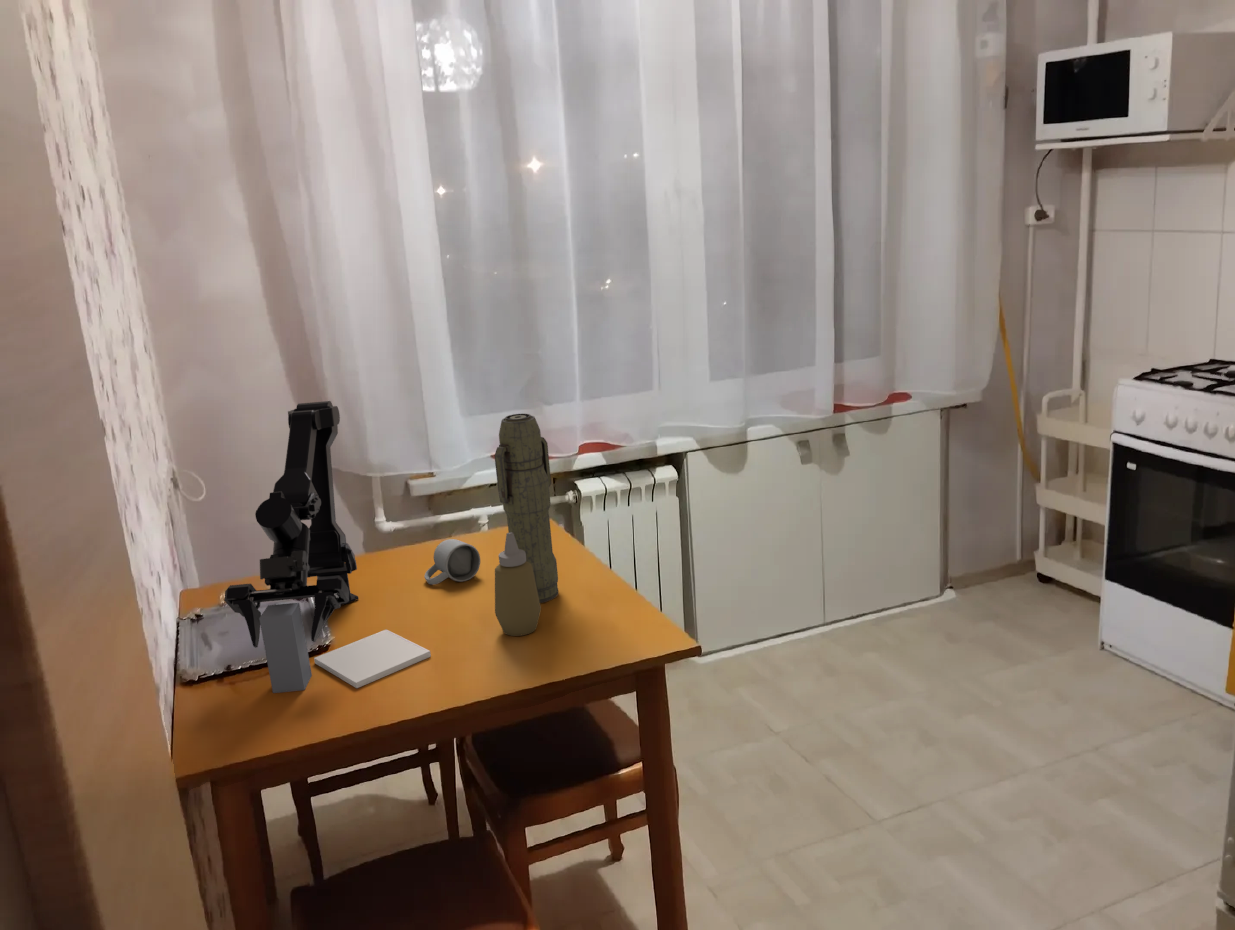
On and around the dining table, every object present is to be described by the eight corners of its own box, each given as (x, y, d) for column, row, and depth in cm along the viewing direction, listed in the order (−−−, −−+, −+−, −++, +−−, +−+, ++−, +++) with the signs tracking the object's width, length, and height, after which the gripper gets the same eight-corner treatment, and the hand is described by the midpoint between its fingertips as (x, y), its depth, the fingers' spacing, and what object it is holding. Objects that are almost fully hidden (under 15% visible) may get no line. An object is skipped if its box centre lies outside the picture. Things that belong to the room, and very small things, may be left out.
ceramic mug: (465, 565, 206) (460, 531, 204) (483, 575, 200) (478, 540, 197) (418, 580, 200) (413, 544, 198) (435, 591, 194) (430, 555, 192)
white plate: (314, 663, 166) (314, 657, 166) (387, 634, 175) (386, 629, 175) (356, 688, 156) (355, 682, 156) (430, 656, 165) (430, 650, 165)
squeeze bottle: (487, 632, 173) (476, 536, 168) (521, 616, 179) (512, 522, 174) (518, 644, 168) (507, 544, 163) (552, 627, 173) (543, 530, 168)
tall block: (281, 678, 162) (267, 605, 158) (311, 675, 162) (299, 602, 158) (272, 693, 157) (259, 618, 153) (304, 689, 157) (291, 615, 154)
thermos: (573, 587, 190) (557, 410, 181) (534, 610, 181) (515, 425, 172) (538, 580, 195) (520, 407, 186) (498, 601, 186) (478, 421, 177)
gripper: (217, 539, 157) (206, 631, 149) (334, 528, 158) (330, 619, 150) (240, 567, 167) (231, 656, 159) (351, 557, 168) (347, 644, 160)
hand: (284, 643), depth 157 cm, fingers open, 9 cm apart
